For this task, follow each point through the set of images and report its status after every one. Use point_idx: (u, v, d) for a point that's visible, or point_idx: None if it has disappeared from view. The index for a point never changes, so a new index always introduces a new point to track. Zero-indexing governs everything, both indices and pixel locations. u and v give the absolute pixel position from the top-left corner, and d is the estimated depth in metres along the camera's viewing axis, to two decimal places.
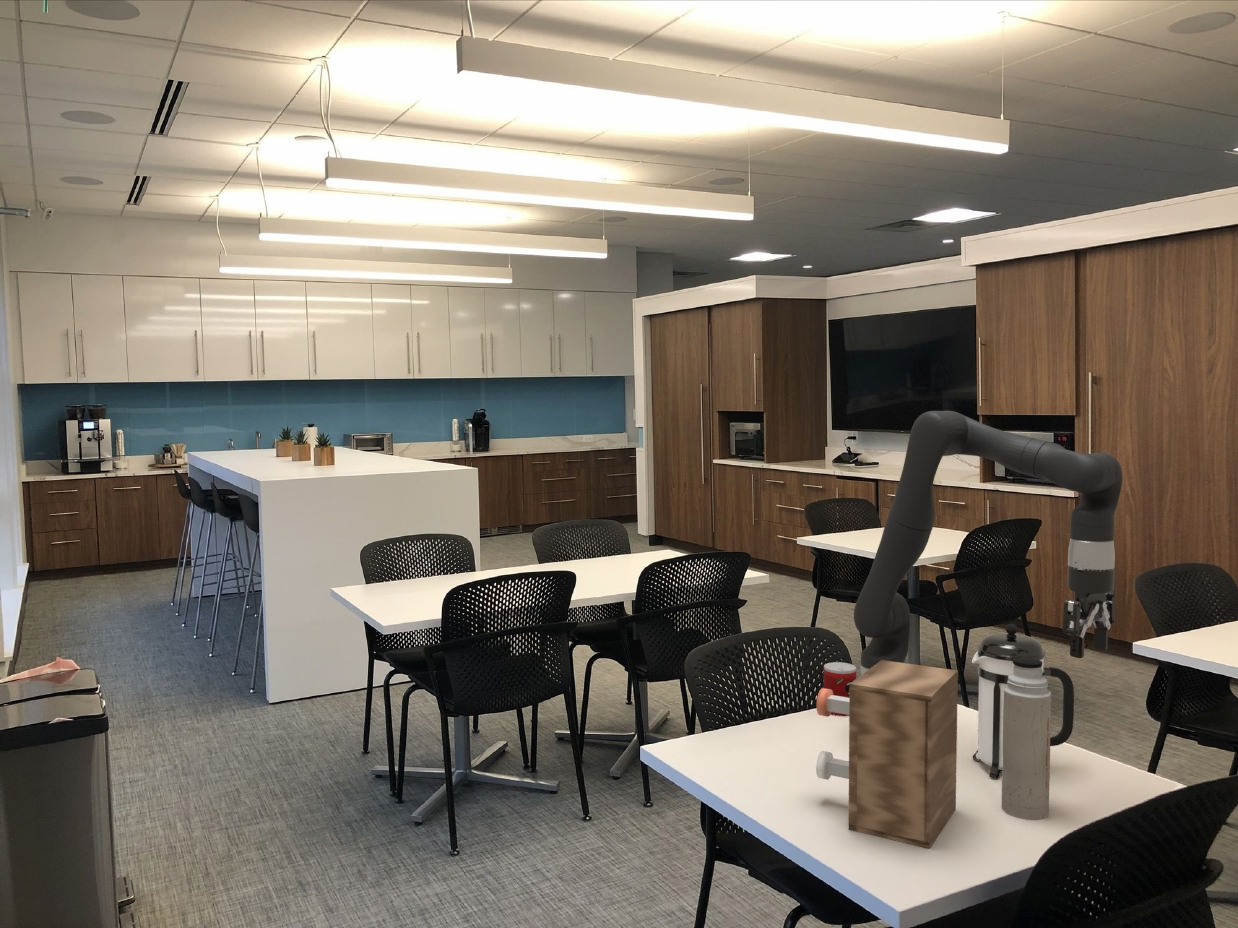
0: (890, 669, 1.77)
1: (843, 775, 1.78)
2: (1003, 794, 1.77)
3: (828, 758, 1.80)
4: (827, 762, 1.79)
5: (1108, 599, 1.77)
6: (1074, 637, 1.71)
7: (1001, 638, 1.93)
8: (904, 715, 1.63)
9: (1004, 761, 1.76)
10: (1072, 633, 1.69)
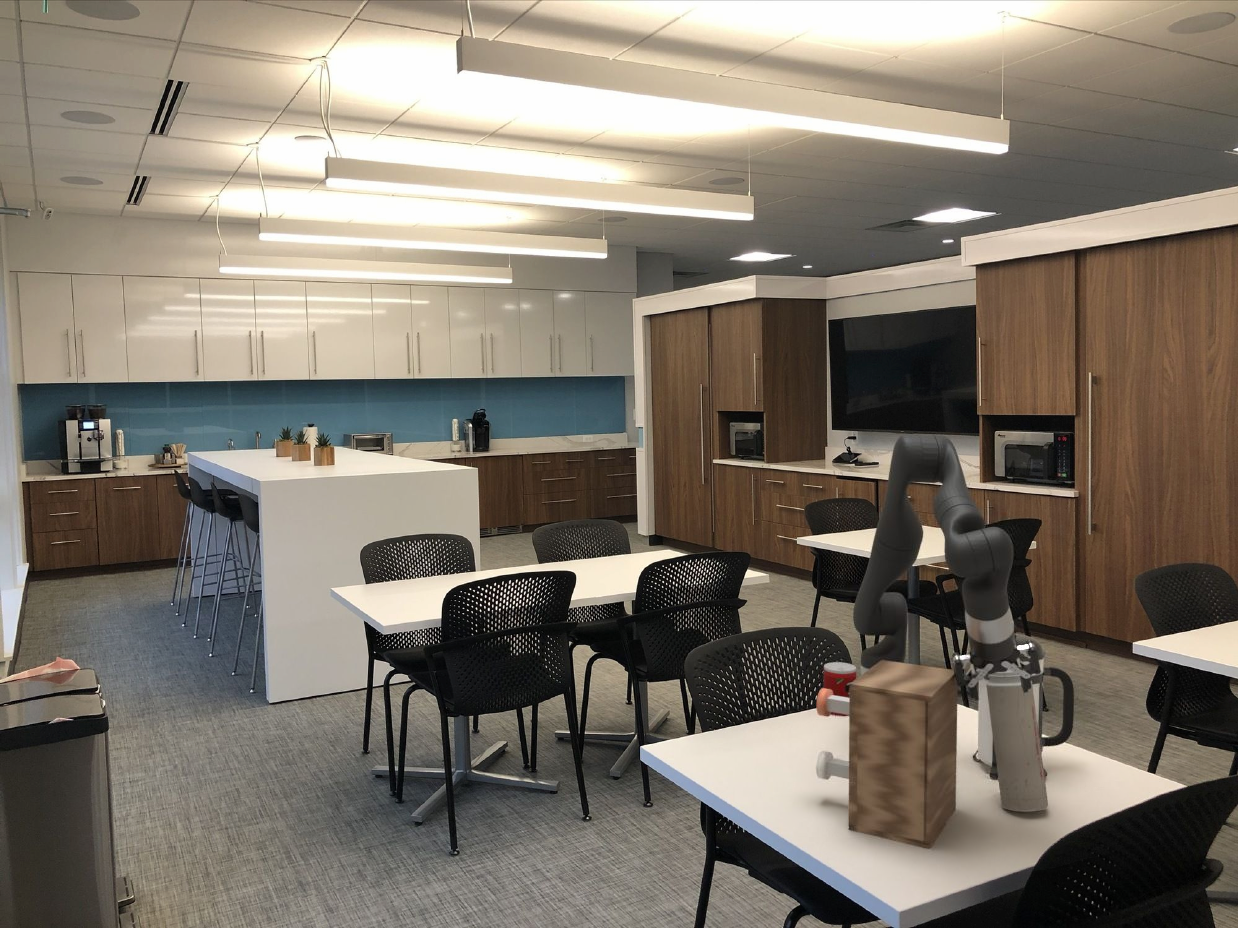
0: (890, 669, 1.77)
1: (843, 775, 1.78)
2: (1001, 791, 1.77)
3: (828, 758, 1.80)
4: (827, 762, 1.79)
5: (1028, 653, 1.67)
6: None
7: None
8: (904, 715, 1.63)
9: (997, 756, 1.78)
10: None
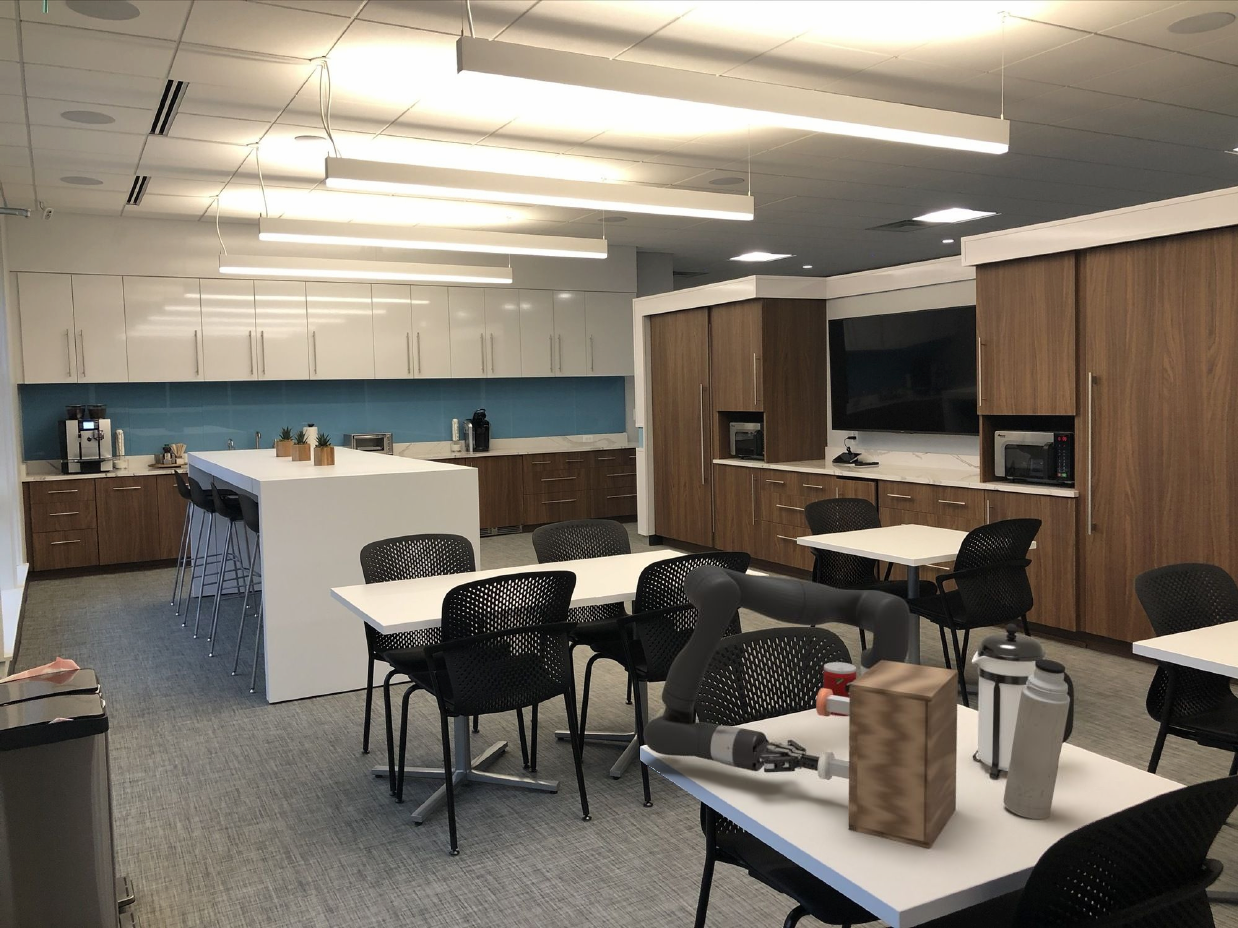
0: (890, 669, 1.77)
1: (844, 776, 1.78)
2: (1010, 793, 1.75)
3: (829, 758, 1.80)
4: (828, 762, 1.79)
5: None
6: None
7: (1001, 638, 1.93)
8: (904, 715, 1.63)
9: (1016, 762, 1.74)
10: None
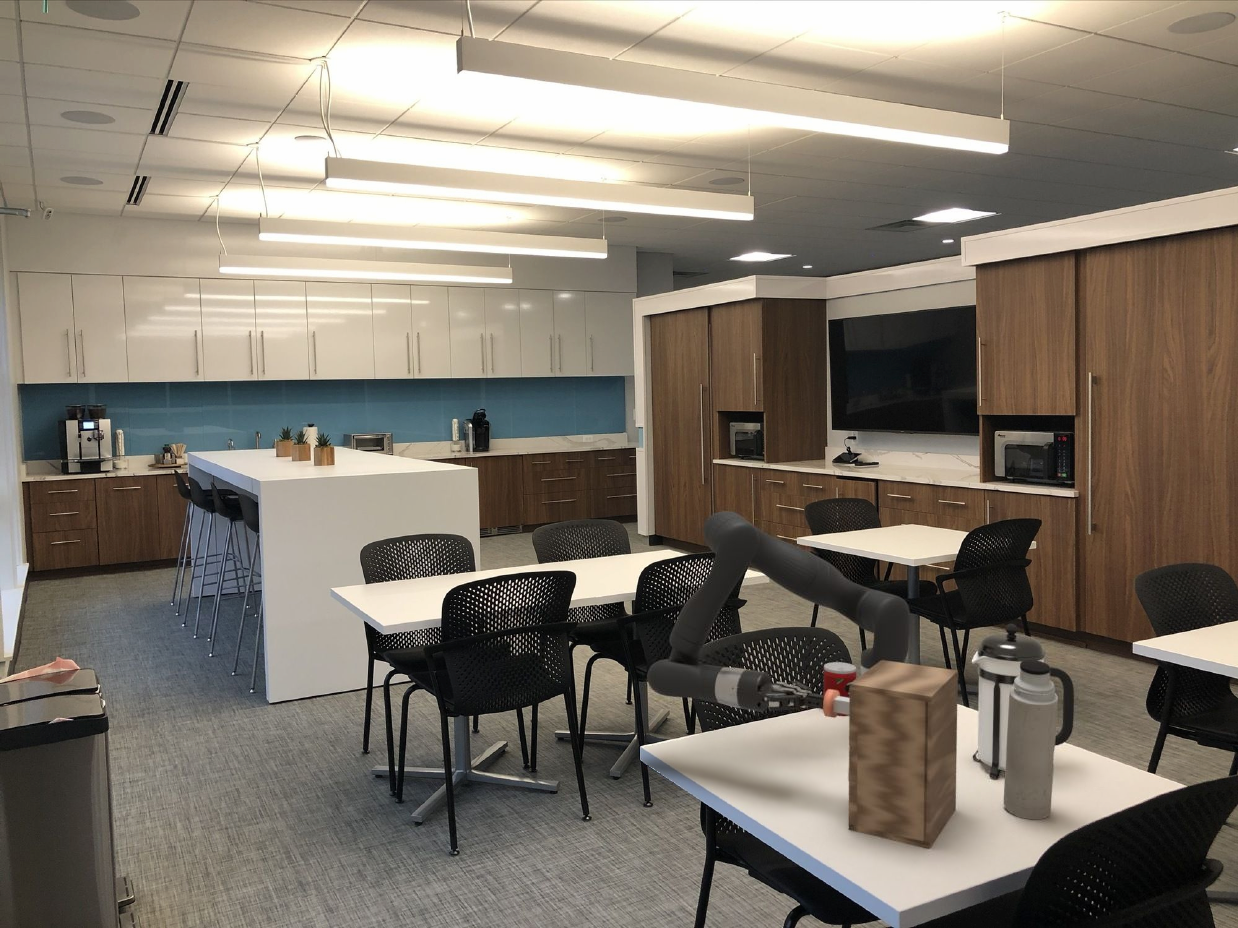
0: (890, 669, 1.77)
1: None
2: (1013, 798, 1.74)
3: None
4: None
5: None
6: None
7: (1001, 638, 1.93)
8: (904, 715, 1.63)
9: (1015, 767, 1.73)
10: None
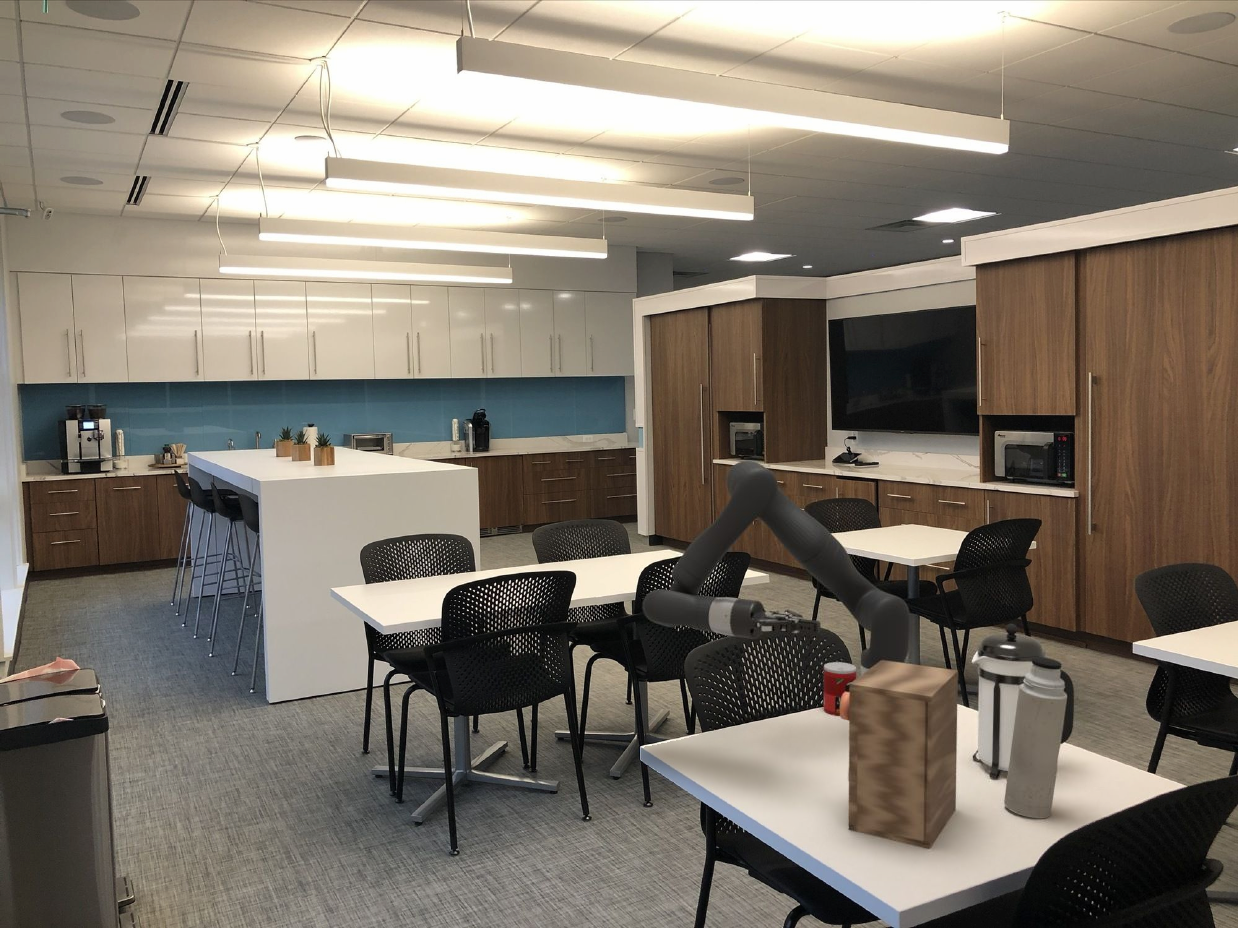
0: (890, 669, 1.77)
1: None
2: (1018, 797, 1.74)
3: None
4: None
5: None
6: None
7: (1001, 638, 1.93)
8: (904, 715, 1.63)
9: (1023, 764, 1.73)
10: None
